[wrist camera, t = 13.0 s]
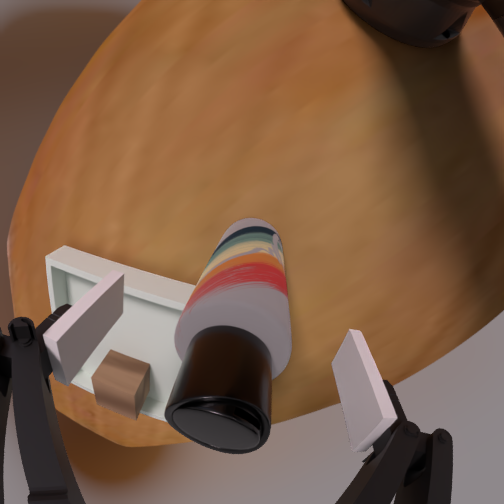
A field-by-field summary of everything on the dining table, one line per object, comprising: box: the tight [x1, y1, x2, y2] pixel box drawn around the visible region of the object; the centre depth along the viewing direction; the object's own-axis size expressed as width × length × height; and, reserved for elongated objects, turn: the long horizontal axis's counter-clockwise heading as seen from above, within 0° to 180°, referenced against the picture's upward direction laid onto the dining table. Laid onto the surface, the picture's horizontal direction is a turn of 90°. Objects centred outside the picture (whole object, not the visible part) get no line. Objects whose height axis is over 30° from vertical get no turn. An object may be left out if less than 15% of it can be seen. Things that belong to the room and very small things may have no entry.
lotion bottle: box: [164, 218, 292, 454], centre depth 17 cm, size 6×6×20 cm
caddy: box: [45, 245, 195, 422], centre depth 29 cm, size 20×20×5 cm
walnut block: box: [91, 349, 150, 420], centre depth 29 cm, size 6×6×6 cm
